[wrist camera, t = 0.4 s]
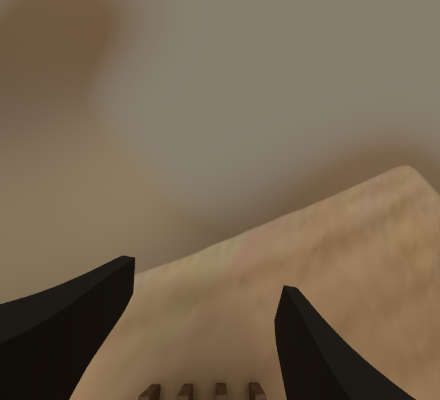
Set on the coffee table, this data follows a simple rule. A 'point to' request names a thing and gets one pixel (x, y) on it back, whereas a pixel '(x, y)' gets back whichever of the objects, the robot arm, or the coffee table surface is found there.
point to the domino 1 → (151, 393)
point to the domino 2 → (186, 392)
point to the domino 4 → (256, 392)
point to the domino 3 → (221, 391)
